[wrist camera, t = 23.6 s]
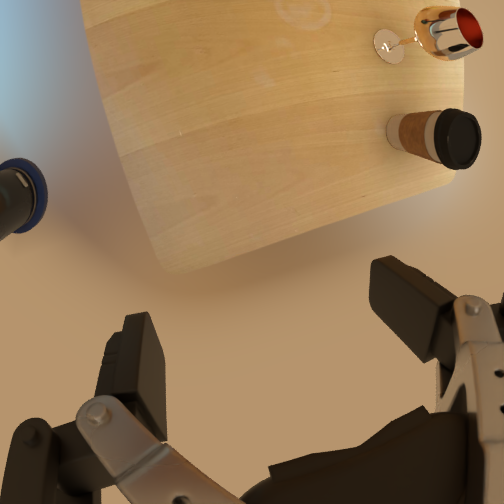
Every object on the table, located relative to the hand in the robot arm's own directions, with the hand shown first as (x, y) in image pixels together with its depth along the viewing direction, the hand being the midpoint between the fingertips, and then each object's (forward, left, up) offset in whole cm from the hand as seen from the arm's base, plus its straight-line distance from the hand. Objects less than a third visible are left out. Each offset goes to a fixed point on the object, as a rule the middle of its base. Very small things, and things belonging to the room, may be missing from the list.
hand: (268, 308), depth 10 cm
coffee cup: (+32, +3, -33) cm, 46 cm away
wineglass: (+32, +18, -33) cm, 49 cm away
